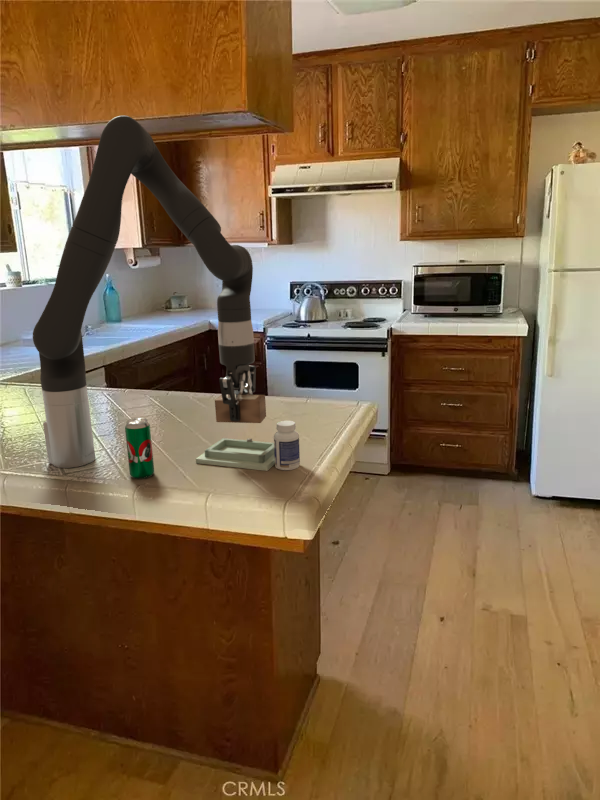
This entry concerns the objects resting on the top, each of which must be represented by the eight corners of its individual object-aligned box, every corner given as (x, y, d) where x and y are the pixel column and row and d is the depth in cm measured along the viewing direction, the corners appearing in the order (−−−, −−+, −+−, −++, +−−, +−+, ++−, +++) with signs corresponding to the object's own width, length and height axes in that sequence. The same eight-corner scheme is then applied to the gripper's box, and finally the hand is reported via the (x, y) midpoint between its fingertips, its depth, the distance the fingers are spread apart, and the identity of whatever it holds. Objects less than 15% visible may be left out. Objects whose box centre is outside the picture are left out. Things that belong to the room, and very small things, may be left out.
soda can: (156, 470, 132) (151, 416, 129) (152, 479, 127) (146, 423, 124) (133, 471, 132) (127, 417, 129) (127, 480, 127) (121, 424, 124)
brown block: (216, 422, 135) (214, 399, 134) (223, 415, 140) (221, 393, 138) (260, 423, 133) (259, 400, 132) (266, 416, 138) (265, 394, 137)
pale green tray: (196, 463, 136) (195, 450, 135) (218, 446, 146) (218, 434, 145) (267, 470, 130) (266, 457, 129) (285, 453, 140) (285, 441, 139)
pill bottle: (305, 465, 133) (303, 422, 130) (288, 472, 129) (286, 428, 126) (286, 460, 136) (285, 417, 134) (269, 467, 132) (267, 423, 130)
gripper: (238, 348, 124) (243, 428, 129) (265, 336, 137) (269, 409, 142) (204, 347, 127) (211, 425, 131) (234, 335, 140) (239, 407, 144)
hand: (241, 416), depth 136 cm, fingers closed on brown block, 5 cm apart
